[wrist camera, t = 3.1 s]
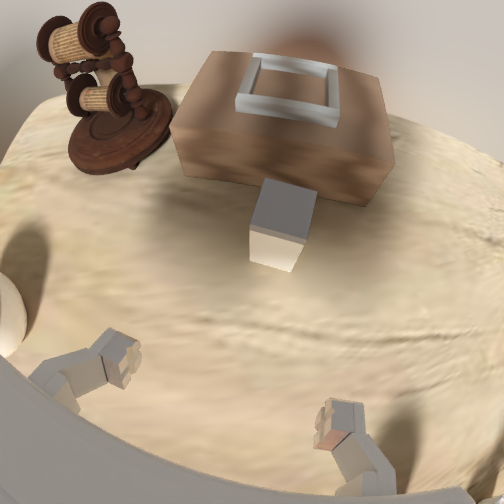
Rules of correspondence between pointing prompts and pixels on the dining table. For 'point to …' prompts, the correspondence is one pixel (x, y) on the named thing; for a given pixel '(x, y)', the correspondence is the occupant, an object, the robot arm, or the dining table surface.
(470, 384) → the dining table surface
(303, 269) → the dining table surface
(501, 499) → the figurine
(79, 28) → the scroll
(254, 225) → the grey white rectangular block
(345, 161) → the block
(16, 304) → the lidded jar
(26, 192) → the dining table surface
